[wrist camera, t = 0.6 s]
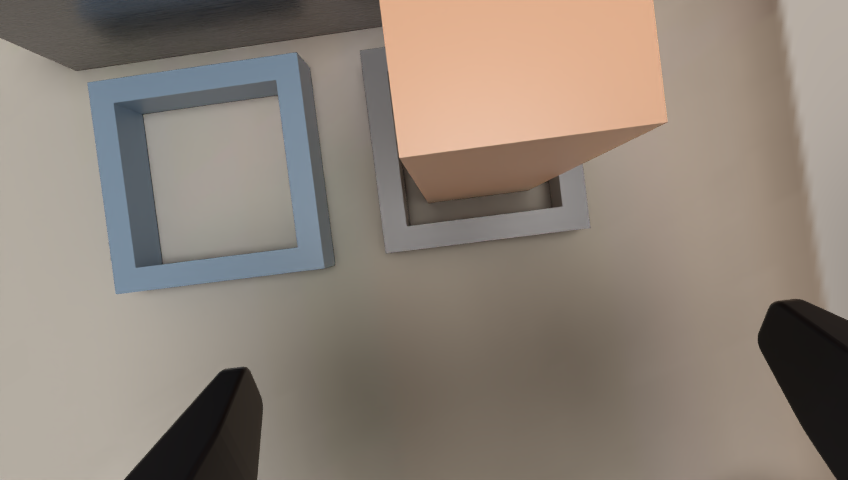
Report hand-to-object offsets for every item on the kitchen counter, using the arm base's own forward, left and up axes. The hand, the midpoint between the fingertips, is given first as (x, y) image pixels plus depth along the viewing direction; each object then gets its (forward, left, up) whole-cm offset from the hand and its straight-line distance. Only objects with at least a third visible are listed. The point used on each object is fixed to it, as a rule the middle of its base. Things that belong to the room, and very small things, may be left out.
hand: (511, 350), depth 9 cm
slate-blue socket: (-3, +12, -14) cm, 18 cm away
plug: (+5, +4, -14) cm, 15 cm away
